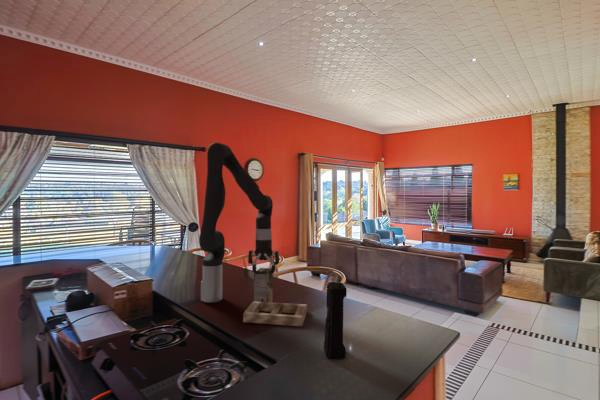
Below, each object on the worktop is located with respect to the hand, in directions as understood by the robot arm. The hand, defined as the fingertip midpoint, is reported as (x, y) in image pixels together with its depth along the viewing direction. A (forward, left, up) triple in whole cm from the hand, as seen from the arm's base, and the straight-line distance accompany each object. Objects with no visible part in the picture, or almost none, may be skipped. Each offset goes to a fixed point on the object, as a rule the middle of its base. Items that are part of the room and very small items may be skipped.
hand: (263, 272), depth 141 cm
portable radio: (+34, -38, -15) cm, 53 cm away
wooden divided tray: (+9, -13, -15) cm, 22 cm away
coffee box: (0, 0, -15) cm, 15 cm away
